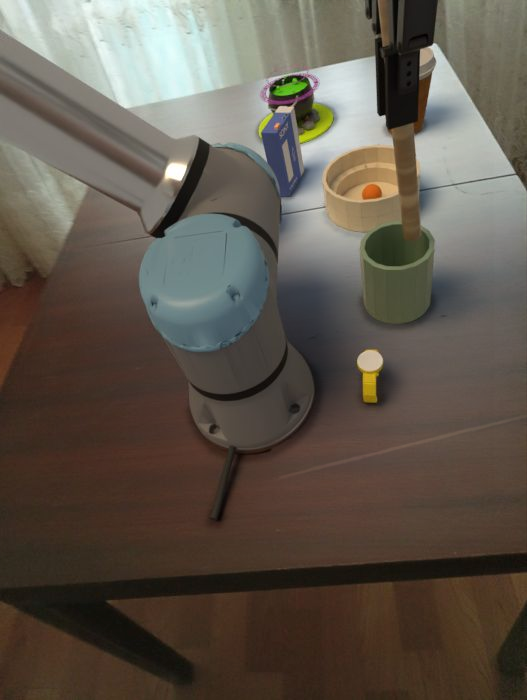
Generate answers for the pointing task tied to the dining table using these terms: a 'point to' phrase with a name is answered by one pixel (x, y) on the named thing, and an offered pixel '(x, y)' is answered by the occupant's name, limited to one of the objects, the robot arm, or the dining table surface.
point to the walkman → (283, 149)
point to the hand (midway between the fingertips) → (397, 116)
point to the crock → (396, 273)
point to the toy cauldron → (298, 104)
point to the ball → (371, 192)
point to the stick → (404, 158)
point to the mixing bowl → (349, 182)
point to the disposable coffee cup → (423, 85)
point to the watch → (370, 373)
